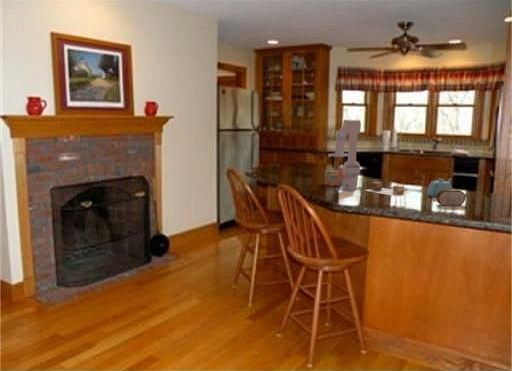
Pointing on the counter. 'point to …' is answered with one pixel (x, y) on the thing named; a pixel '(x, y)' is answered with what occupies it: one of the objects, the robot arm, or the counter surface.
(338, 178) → the stack of blocks
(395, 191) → the maple block
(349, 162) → the robot arm
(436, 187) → the teapot
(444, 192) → the tin
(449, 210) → the counter surface
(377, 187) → the walnut block
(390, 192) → the board
